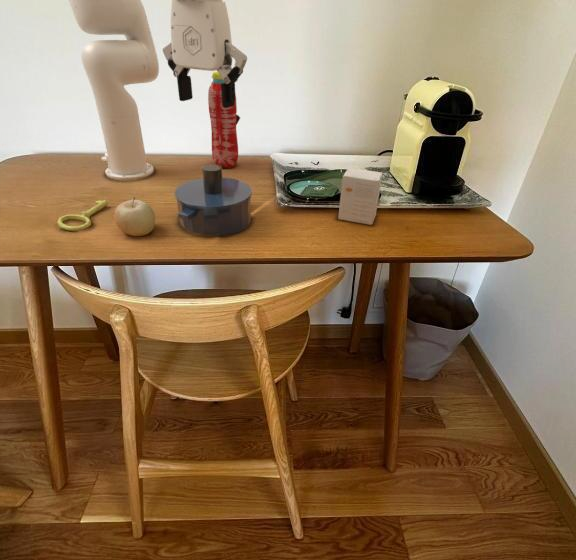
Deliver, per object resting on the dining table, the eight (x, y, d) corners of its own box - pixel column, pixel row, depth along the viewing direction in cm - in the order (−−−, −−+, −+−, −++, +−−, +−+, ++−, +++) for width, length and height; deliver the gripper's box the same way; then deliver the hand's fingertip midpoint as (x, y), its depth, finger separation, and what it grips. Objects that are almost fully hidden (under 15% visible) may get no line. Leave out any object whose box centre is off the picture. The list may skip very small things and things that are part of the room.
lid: (158, 201, 82) (153, 171, 78) (205, 177, 94) (203, 150, 90) (224, 219, 76) (222, 188, 72) (265, 191, 88) (265, 163, 84)
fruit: (155, 223, 86) (149, 188, 81) (158, 239, 80) (152, 202, 76) (118, 227, 84) (110, 191, 79) (118, 244, 78) (109, 206, 73)
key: (111, 207, 91) (109, 198, 90) (86, 232, 81) (83, 223, 80) (80, 205, 92) (77, 197, 90) (51, 230, 81) (48, 221, 80)
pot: (156, 231, 83) (151, 202, 79) (214, 197, 98) (212, 172, 95) (217, 249, 78) (215, 220, 74) (268, 211, 93) (268, 185, 89)
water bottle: (222, 156, 125) (216, 67, 111) (246, 159, 123) (244, 69, 109) (206, 168, 115) (199, 72, 101) (233, 172, 114) (228, 74, 99)
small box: (376, 215, 93) (383, 172, 87) (372, 225, 89) (380, 180, 83) (342, 210, 95) (348, 166, 89) (337, 219, 91) (342, 174, 85)
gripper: (141, -13, 65) (157, 100, 74) (230, -10, 59) (235, 113, 68) (172, -10, 70) (183, 94, 80) (256, -8, 64) (257, 105, 74)
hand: (207, 103), depth 74 cm, fingers open, 9 cm apart
